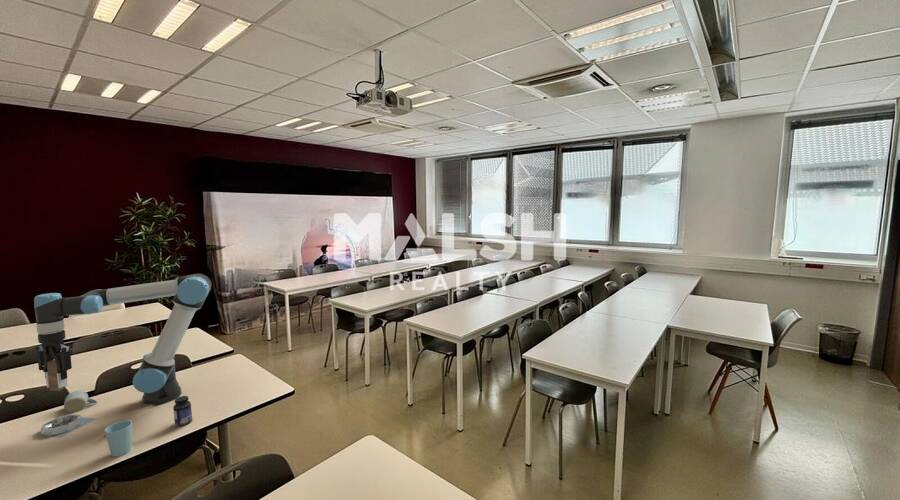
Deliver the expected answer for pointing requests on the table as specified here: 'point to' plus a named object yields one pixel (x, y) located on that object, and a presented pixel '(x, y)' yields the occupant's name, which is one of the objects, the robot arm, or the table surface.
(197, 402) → the table surface
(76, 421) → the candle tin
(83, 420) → the slate board
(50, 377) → the brown wooden block
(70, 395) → the ceramic mug
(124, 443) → the cup
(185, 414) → the pill bottle
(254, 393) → the table surface
